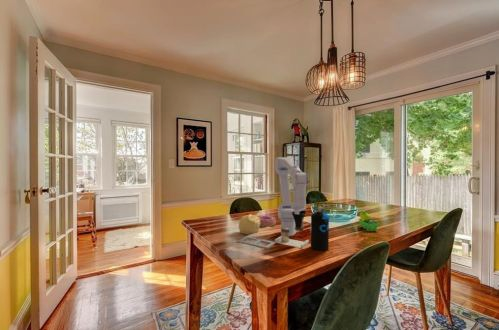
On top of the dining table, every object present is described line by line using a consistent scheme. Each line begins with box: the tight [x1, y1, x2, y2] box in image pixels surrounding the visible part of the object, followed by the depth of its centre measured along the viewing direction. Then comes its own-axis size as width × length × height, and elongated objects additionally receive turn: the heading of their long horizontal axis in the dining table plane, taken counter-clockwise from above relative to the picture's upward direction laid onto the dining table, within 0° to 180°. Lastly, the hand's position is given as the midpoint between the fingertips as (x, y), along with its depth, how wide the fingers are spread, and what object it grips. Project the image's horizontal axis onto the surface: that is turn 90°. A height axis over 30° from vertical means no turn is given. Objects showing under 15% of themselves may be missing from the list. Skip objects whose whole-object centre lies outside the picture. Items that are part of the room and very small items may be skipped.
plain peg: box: [280, 227, 290, 242], centre depth 117 cm, size 4×4×6 cm
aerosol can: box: [310, 206, 330, 252], centre depth 108 cm, size 8×8×20 cm
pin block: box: [237, 235, 277, 249], centre depth 114 cm, size 8×16×2 cm, turn 58°
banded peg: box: [295, 219, 304, 232], centre depth 113 cm, size 4×4×6 cm
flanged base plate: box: [274, 235, 310, 249], centre depth 115 cm, size 9×14×3 cm, turn 58°
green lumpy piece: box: [358, 210, 380, 232], centre depth 147 cm, size 11×9×11 cm
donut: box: [256, 215, 277, 228], centre depth 154 cm, size 14×14×5 cm
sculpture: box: [238, 213, 261, 236], centre depth 134 cm, size 11×12×11 cm
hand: (299, 226), depth 113 cm, fingers closed on banded peg, 4 cm apart
